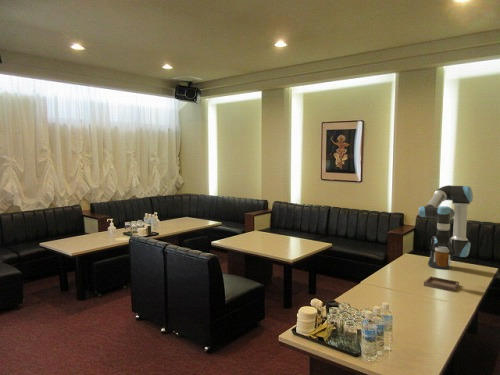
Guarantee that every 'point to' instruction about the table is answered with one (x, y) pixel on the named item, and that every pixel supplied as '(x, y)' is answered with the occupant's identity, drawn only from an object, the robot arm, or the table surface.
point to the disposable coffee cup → (442, 256)
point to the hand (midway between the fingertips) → (442, 262)
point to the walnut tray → (441, 284)
